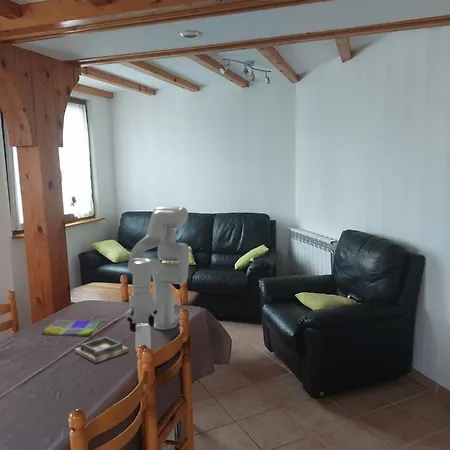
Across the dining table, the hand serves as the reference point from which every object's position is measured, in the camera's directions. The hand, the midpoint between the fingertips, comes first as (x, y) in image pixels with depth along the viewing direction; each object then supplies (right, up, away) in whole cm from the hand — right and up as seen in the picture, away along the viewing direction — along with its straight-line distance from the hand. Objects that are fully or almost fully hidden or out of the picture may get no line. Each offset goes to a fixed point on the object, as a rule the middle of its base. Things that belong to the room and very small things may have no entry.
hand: (142, 328), depth 193 cm
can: (0, -10, +2) cm, 10 cm away
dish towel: (-39, -7, +27) cm, 48 cm away
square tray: (-18, -10, +1) cm, 20 cm away
